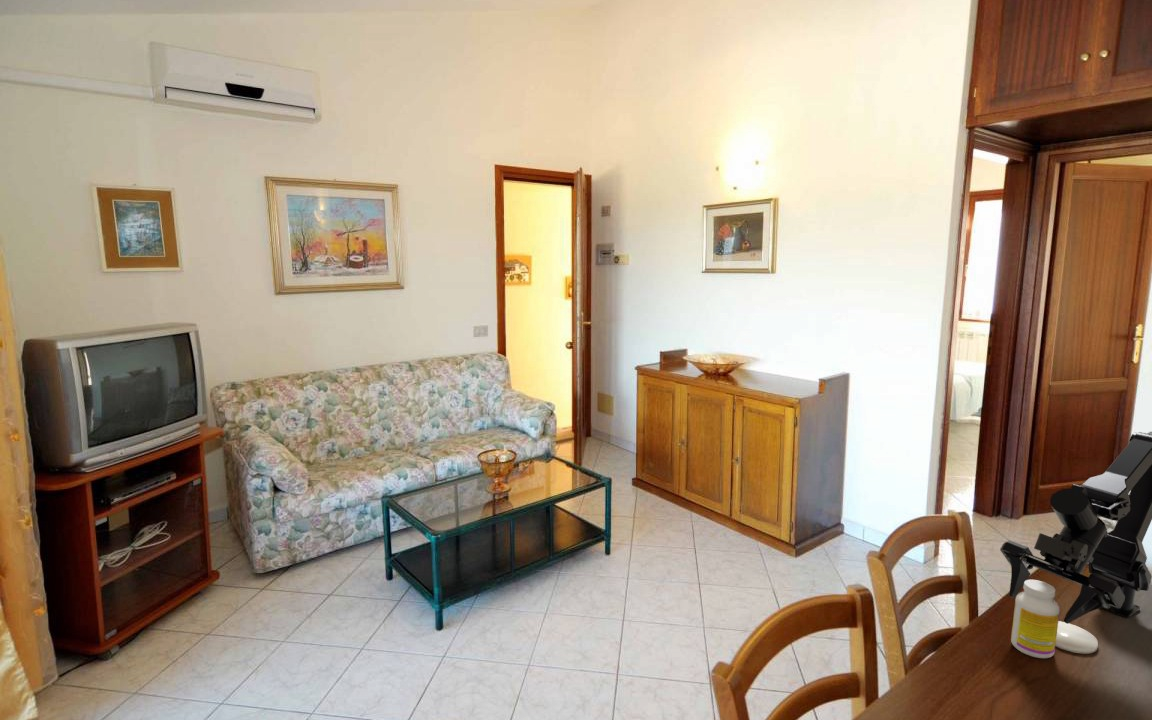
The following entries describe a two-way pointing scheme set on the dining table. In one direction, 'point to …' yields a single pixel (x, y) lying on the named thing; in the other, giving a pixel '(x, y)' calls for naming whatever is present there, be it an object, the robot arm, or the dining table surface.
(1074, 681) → the dining table surface
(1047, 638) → the supplement bottle
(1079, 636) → the coaster
